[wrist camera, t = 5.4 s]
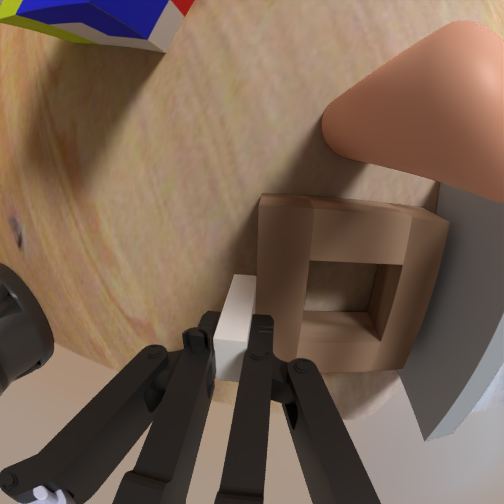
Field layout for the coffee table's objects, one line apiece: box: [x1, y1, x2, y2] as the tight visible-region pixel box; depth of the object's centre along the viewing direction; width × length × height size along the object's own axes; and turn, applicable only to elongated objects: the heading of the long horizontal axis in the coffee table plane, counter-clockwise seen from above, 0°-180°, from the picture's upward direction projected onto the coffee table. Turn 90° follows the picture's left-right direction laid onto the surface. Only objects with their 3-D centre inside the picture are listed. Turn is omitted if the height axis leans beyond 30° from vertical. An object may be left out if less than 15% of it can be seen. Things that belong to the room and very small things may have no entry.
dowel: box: [321, 21, 504, 202], centre depth 10 cm, size 4×4×14 cm
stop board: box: [397, 182, 504, 441], centre depth 15 cm, size 3×18×10 cm, turn 178°
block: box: [255, 193, 450, 373], centre depth 19 cm, size 12×12×4 cm
